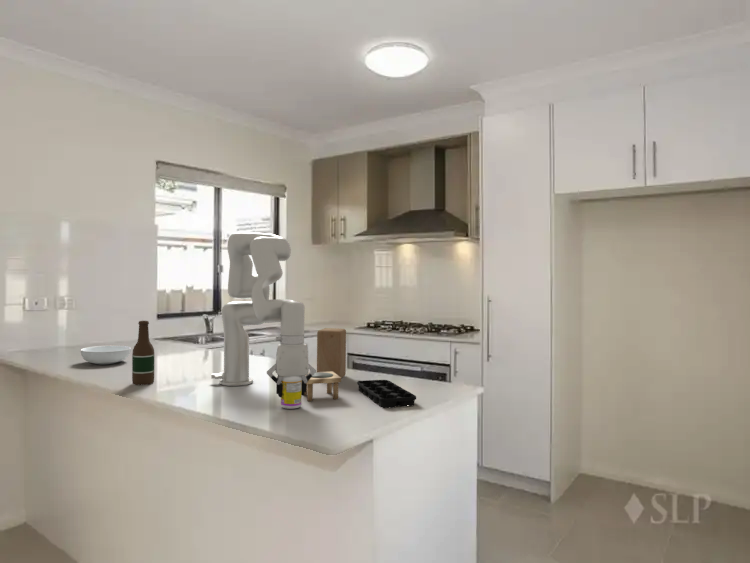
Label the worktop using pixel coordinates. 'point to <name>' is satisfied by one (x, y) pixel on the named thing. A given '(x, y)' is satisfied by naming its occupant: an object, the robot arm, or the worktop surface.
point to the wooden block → (331, 351)
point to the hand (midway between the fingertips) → (291, 394)
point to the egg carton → (386, 393)
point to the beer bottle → (143, 357)
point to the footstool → (323, 378)
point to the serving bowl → (105, 354)
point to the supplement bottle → (291, 392)
